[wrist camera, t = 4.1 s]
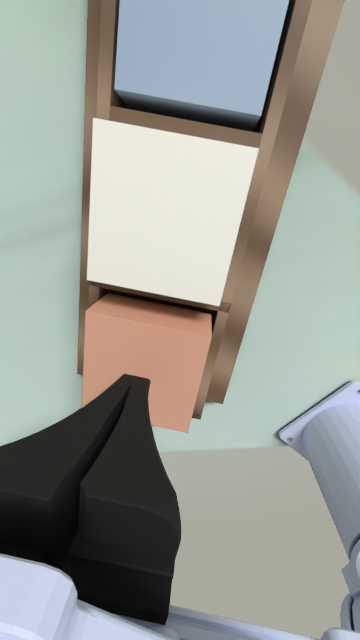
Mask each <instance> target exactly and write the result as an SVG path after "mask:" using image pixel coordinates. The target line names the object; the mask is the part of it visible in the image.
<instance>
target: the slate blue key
mask: <svg viewBox="0 0 360 640" xmlns="http://www.w3.org/2000/svg"><path fill="white" fill-rule="evenodd" d="M288 3H289V0H120V5H119V21H118V37H117V53H116V69H115V85H114V89H115V91H116V92H117V93H118V95H119V96H120V97H121V99H122V100H123V101H124V103H125V104H126V105H127V107H128V108H129V109H131V110H136V111H142V112H147V113H153V114H158V115H164V116H169V117H174V118H180V119H185V120H191V121H196V122H202V123H207V124H212V125H218V126H223V127H229V128H234V129H240V130H245V131H251V132H253V130H254V128H255V126H256V124H257V122H258V121H259V119H260V117H261V114H262V110H263V106H264V102H265V98H266V94H267V90H268V86H269V81H270V77H271V73H272V69H273V65H274V61H275V57H276V53H277V48H278V44H279V40H280V36H281V32H282V28H283V24H284V20H285V16H286V11H287V7H288Z"/></svg>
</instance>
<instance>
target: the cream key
mask: <svg viewBox="0 0 360 640" xmlns="http://www.w3.org/2000/svg"><path fill="white" fill-rule="evenodd" d="M258 151H259V148H254V147H249V146H243V145H238V144H232V143H227V142H222V141H216V140H211V139H205V138H200V137H195V136H189V135H184V134H179V133H173V132H168V131H162V130H157V129H152V128H146V127H141V126H135V125H130V124H125V123H119V122H114V121H108V120H103V119H98V118H93V132H92V158H91V184H90V210H89V236H88V262H87V280H90V281H95V282H100V283H105V284H110V285H115V286H120V287H125V288H130V289H135V290H140V291H145V292H150V293H155V294H160V295H165V296H170V297H175V298H180V299H185V300H190V301H195V302H200V303H205V304H210V305H215V306H220V302H221V298H222V294H223V290H224V286H225V282H226V278H227V274H228V270H229V266H230V262H231V258H232V254H233V250H234V246H235V242H236V238H237V234H238V230H239V226H240V222H241V219H242V215H243V211H244V207H245V203H246V199H247V195H248V191H249V187H250V183H251V179H252V175H253V171H254V167H255V163H256V159H257V155H258Z"/></svg>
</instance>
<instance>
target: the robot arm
mask: <svg viewBox="0 0 360 640" xmlns="http://www.w3.org/2000/svg"><path fill="white" fill-rule="evenodd" d="M150 382H151V381H150V380H149V379H148V378H143V377H138V376H134V375H129V374H123V375H122V376H121V377H120V378H119V379H117V380H116V381H115V382H114V383H113V384H112V385H111V386H110V387H108V388H107V389H106V390H105V391H104V392H102V393H101V394H100V395H99V396H97V397H96V398H95V399H94V400H92V401H91V402H89V403H88V404H87V405H85V406H84V407H82V408H81V409H79V410H78V411H76V412H75V413H73V414H72V415H70V416H68V417H66V418H65V419H63V420H61V421H59V422H57V423H56V424H54V425H52V426H50V427H48V428H46V429H44V430H42V431H39V432H37V433H35V434H32V435H30V436H28V437H25V438H23V439H20V440H17V441H15V442H12V443H9V444H6V445H3V446H0V640H360V391H359V392H357V391H358V390H360V382H358V381H355V380H354V381H351V382H349V383H348V384H346V385H345V386H343V387H342V388H340V389H339V390H338V391H336V392H335V393H333V394H332V395H330V396H329V397H328V398H326V399H325V400H323V401H322V402H320V403H319V404H318V405H316V406H315V407H313V408H312V409H310V410H309V411H308V412H306V413H305V414H303V415H302V416H300V417H299V418H298V419H296V420H295V421H293V422H292V423H290V424H289V425H288V426H286V427H285V428H283V429H282V430H281V431H280V432H279V436H280V438H281V439H282V440H283V441H284V442H285V443H287V444H288V445H289V446H290V447H292V448H293V449H294V450H296V451H297V452H298V453H300V454H301V455H302V456H303V457H305V458H306V459H307V460H309V462H310V465H311V467H312V470H313V472H314V474H315V477H316V479H317V482H318V484H319V487H320V489H321V492H322V494H323V497H324V499H325V501H326V504H327V506H328V509H329V511H330V514H331V516H332V518H333V521H334V524H335V526H336V528H337V531H338V533H339V535H340V538H341V541H342V543H343V545H344V548H345V550H346V553H347V555H348V558H349V560H350V562H349V563H348V564H347V565H346V566H345V567H344V568H342V573H343V575H344V578H345V581H346V583H347V586H348V588H349V591H350V594H348V595H347V596H346V597H345V598H344V600H343V602H342V605H341V614H340V617H341V628H337V627H334V628H329V629H328V630H326V631H325V632H324V633H323V635H322V637H321V639H317V638H312V637H308V636H304V635H299V634H295V633H291V632H286V631H282V630H277V629H273V628H269V627H264V626H260V625H256V624H251V623H247V622H242V621H238V620H233V619H229V618H225V617H219V616H216V615H211V614H207V613H202V612H198V611H193V610H189V609H185V608H181V607H176V606H172V605H169V604H170V594H171V583H172V579H173V574H174V564H175V558H176V555H177V551H178V548H179V544H180V541H181V520H180V513H179V507H178V501H177V496H176V492H175V490H174V488H173V486H172V484H171V482H170V480H169V478H168V476H167V474H166V471H165V469H164V466H163V464H162V461H161V458H160V456H159V453H158V450H157V447H156V443H155V440H154V436H153V432H152V427H151V421H150V415H149V404H148V394H149V388H150ZM289 437H291V438H289Z"/></svg>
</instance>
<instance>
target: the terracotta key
mask: <svg viewBox="0 0 360 640" xmlns="http://www.w3.org/2000/svg"><path fill="white" fill-rule="evenodd" d="M211 338H212V323H211V313H206V312H201V311H196V310H191V309H186V308H181V307H176V306H171V305H166V304H161V303H156V302H151V301H146V300H141V299H136V298H131V297H126V296H121V295H116V294H111V293H107V294H106V295H105V296H104V297H102V298H101V299H100V300H99V301H97V302H96V303H95V304H94V305H92V306H91V307H90V308H89V309H87V310H86V313H85V339H84V365H83V391H82V407H84V406H85V405H87V404H88V403H89V402H91V401H92V400H94V399H95V398H96V397H97V396H99V395H100V394H101V393H102V392H104V391H105V390H106V389H107V388H108V387H110V386H111V385H112V384H113V383H114V382H115V381H116V380H117V379H119V378H120V377H121V376H122V375H123V374H129V375H134V376H138V377H143V378H148V379H149V380H150V381H151V382H150V388H149V394H148V404H149V415H150V421H151V425H153V426H158V427H163V428H167V429H172V430H177V431H182V432H186V433H188V430H189V426H190V422H191V418H192V414H193V410H194V406H195V402H196V398H197V394H198V390H199V386H200V382H201V378H202V374H203V370H204V366H205V362H206V358H207V354H208V350H209V346H210V342H211Z"/></svg>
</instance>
